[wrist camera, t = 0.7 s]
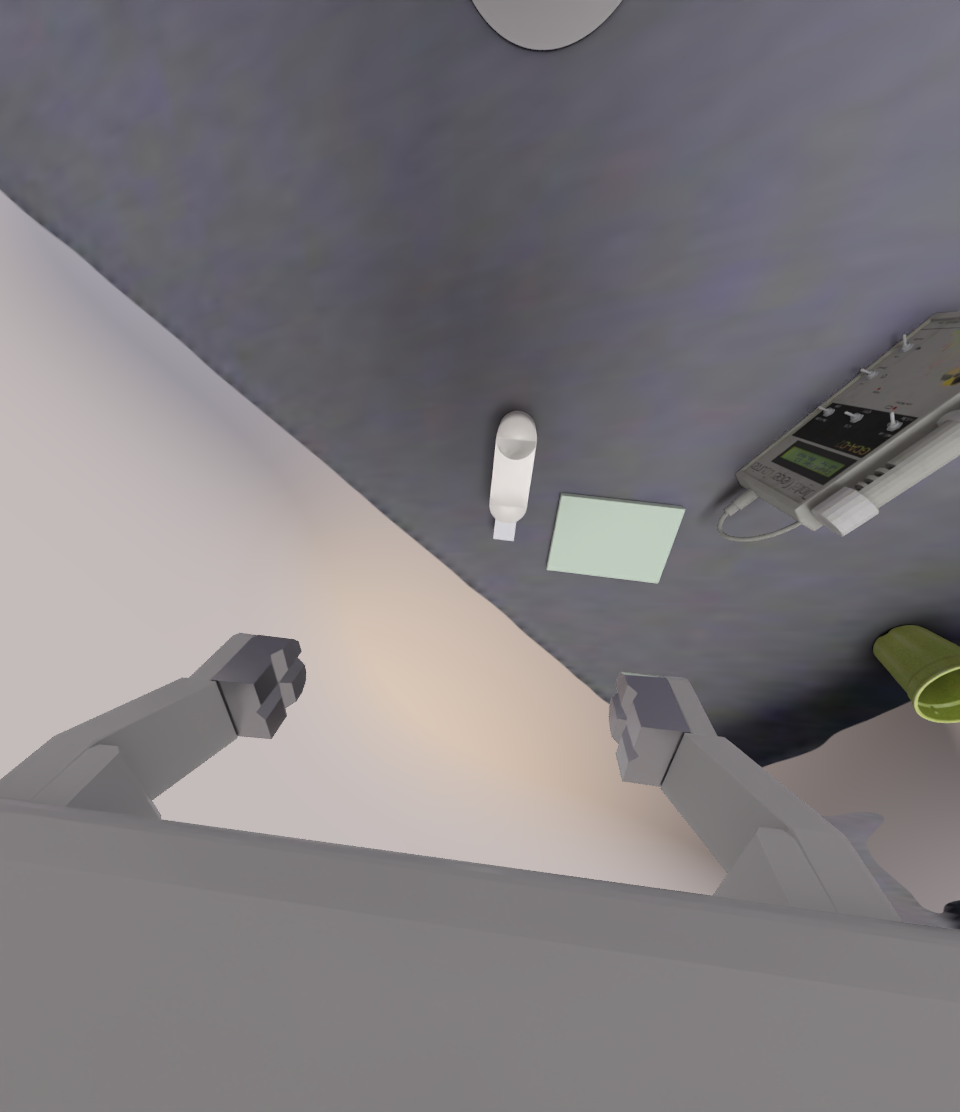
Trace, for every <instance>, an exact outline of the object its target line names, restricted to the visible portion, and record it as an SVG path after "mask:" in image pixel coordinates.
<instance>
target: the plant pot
mask: <svg viewBox="0 0 960 1112" xmlns="http://www.w3.org/2000/svg"><path fill="white" fill-rule="evenodd" d="M873 653H874V655H875V656H876V657H877V659H878V660H879V661H880V662H881V663H882V664H883V665H884V667H885V668H886V669H887V670H888V671H889V672H890V674H891V675H892V676H893V677H894V678H895V679H896V681H897V682H898V683H899V684H900V685H901V686H902V687H903V689H904V690H905V691H906V692H907V694H908V697H909V698H910V700H911V701H912V704H913V707H914V710H915V711H916V712H917V713H918V714H919V715H920V716H921V717H923V718H925V719H927V720H929V721H933V722H939V723H954V722H960V647H959V646H957V645H956V644H954V643H952V642H950V641H948V640H946V639H944V638H942V637H940V636H938V635H936V634H934V633H933V632H931V631H929V630H927V629H925V628H923V627H920V626H916V625H905V626H900V627H896V628H893V629H891V630H890V631H889V633H887V634H886V635H884V636H882V637H879V638H878V639H877V640H876V642H875V644H874V646H873Z"/></svg>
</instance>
